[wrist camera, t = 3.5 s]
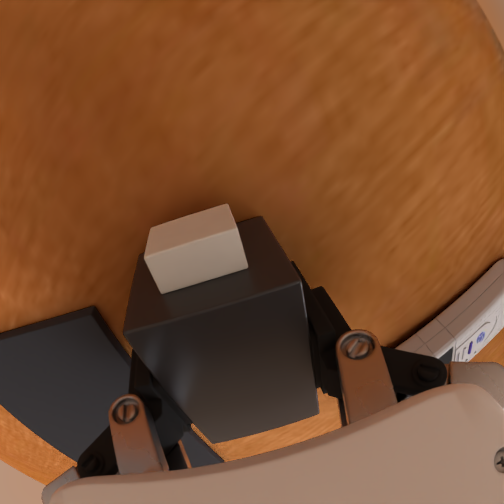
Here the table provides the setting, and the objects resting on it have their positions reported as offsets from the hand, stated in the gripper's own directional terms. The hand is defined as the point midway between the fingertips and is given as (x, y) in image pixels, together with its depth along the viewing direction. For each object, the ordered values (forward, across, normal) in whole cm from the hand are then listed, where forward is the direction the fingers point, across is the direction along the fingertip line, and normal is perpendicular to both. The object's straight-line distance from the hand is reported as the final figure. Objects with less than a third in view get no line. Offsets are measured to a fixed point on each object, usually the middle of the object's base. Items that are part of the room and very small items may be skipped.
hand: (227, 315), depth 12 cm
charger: (0, 0, 0) cm, 0 cm away
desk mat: (0, +11, +7) cm, 13 cm away
